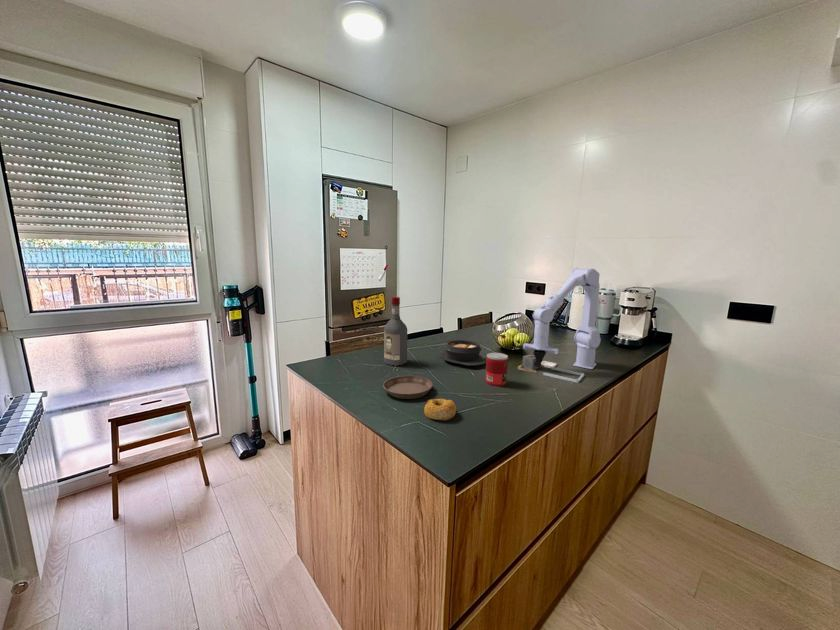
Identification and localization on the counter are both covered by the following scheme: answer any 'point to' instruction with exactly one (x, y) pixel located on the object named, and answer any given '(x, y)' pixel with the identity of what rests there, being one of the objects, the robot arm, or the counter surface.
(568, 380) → the metal frame
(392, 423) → the counter surface
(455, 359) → the casserole
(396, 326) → the liquor
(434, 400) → the bagel
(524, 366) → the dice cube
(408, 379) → the plant saucer
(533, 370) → the oak pen
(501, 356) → the canned food
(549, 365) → the dish
